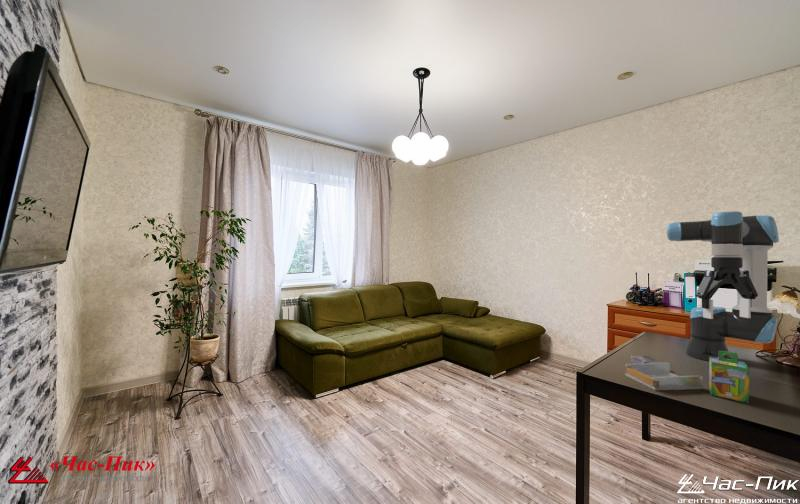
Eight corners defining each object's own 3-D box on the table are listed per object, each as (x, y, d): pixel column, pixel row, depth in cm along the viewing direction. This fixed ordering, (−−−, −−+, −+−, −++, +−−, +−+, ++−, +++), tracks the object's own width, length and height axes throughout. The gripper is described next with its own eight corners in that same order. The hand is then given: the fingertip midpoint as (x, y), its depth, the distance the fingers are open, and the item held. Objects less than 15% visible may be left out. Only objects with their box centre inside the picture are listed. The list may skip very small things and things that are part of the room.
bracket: (667, 373, 128) (667, 362, 128) (702, 388, 114) (702, 376, 114) (625, 374, 127) (625, 363, 126) (655, 390, 113) (655, 378, 113)
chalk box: (710, 395, 108) (710, 353, 108) (708, 386, 115) (708, 346, 115) (750, 404, 102) (750, 359, 102) (745, 394, 109) (745, 351, 109)
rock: (665, 374, 127) (665, 362, 127) (630, 368, 134) (630, 357, 134) (664, 368, 134) (664, 357, 134) (631, 362, 141) (630, 352, 141)
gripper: (747, 256, 113) (747, 314, 113) (681, 256, 112) (682, 316, 112) (773, 256, 106) (773, 319, 106) (703, 257, 104) (703, 320, 104)
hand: (726, 317), depth 109 cm, fingers open, 13 cm apart
